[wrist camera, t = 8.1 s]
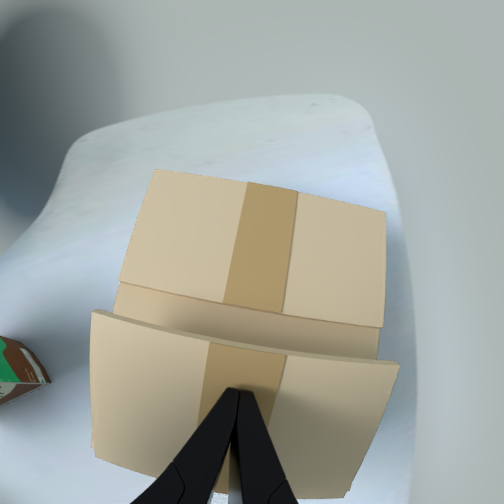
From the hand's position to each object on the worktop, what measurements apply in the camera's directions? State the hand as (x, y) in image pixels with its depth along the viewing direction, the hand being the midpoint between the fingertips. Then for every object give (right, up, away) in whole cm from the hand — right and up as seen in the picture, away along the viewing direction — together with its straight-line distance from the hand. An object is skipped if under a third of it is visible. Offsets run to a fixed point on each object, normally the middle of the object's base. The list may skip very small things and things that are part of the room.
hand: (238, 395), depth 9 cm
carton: (0, -1, +9) cm, 9 cm away
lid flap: (0, -2, +1) cm, 2 cm away
